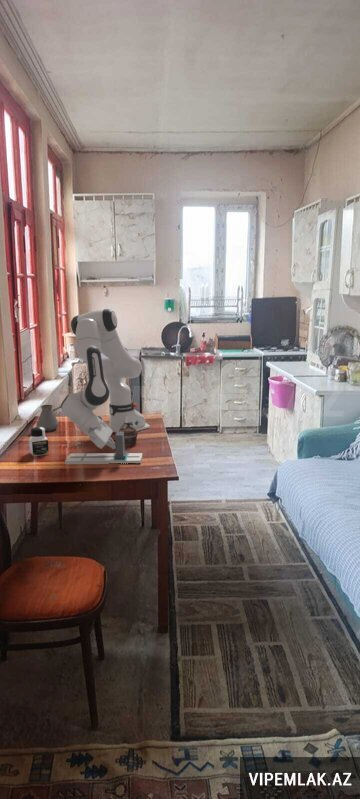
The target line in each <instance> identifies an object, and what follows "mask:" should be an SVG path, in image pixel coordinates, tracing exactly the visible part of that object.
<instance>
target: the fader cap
mask: <svg viewBox="0 0 360 799" xmlns="http://www.w3.org/2000/svg"><path fill="white" fill-rule="evenodd" d="M114 437H115V438H114V439H115V443H116V448H115V452H114V453H115V454H114V458H126V455H127V453H128V451H127V450H126V447H125V441H124V432H115V435H114Z"/></svg>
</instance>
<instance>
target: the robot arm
mask: <svg viewBox="0 0 360 799" xmlns="http://www.w3.org/2000/svg"><path fill="white" fill-rule="evenodd" d="M117 326H118V318H117V314H116V312H115V311H114V310H113V309H111V308H110V309H108V308H105V309H99V310H92V311H89V312H85V313H83V314H78V315H77V314H76V315H75V316H73V317H72V319H71V321H70V328H71V331H72V334H74V336H75V350H76V354H77V357H78V358H79V359H80V360H81V361H83V362H85V363H86V366H87V368H86V369H87V375H88V382H87V385H86V387H85V388H84V389H83V390H80V391H78V392H74V393H68V394H67V395H66V396H65V397H64V399H63V400H62V402H61V403H60V405H59V407H61V408H60V410H61V412H62V413H63V414H64V415H65V417H67V418H68V419H69V421H71V422H73V424H75V425H77V427H78V428H79V430H80V431H82V432H83V433H84V434H85V435H86V436H88V438H89V439H90V441H91V442H92V443H94V445H95V446H96V447H97V448H99V449H100V450H101V449H103V448H104V447H105V446H107V447H109V448H110V449H112V450H116V441H114V440H113V438H112V437H111V436H112V435H113V433H117V432H119V429H120V428H121V427H122V424H123V423H130V422H133V424H134V427H135V428H136V430H137V432H139V431H142V430H145V429H149V428H151V427H150V424H149V423H147V422H146V419H145V416H144V415H143V414H142V413H140V412H139V411H138V410H136V409H137V408H138V407H139V404H137V403H133V402H132V392H131V390H132V389H131V388H130V386H129V385H127V384H126V382H125V381H124V379H135V378H138V377H140V375H141V374H142V370H143V365H142V362H141V361H140V359H138V358H137V357H135V356H134V355H133V354H131V353H130V352H129V351H128V349H126V347H125V346H124V345H123V343H122V341H121V339H120V336H119V333H118V331H117V329H116V328H117ZM102 355H103V356H102ZM108 400H109V404H108V406H109V407H108V409H109V423H108V424H107V423H106V421H105V420H103V417H102V416H101V415H96V414H95V413H94V412H93V411H94V410H96V409H98V408H99V407H100V406H101V405H103V404H104V403H106V402H107V401H108ZM135 408H136V409H135Z"/></svg>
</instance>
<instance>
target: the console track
mask: <svg viewBox="0 0 360 799" xmlns="http://www.w3.org/2000/svg"><path fill="white" fill-rule="evenodd" d="M114 454H115V452H113V453H105V452H102V453H99V452H98V453H97V452H96V453H93V452H92V453H91V452H90V453H87V452H86V453H83V452H82V453H70V454H69V455H68V456H67V457H66V459H65V461H64V464H65V465H110V464H109V463H121V464H120V465H129V464H128V463H142V461H141V460H143V457H144V456H143V455H144V454H143V452H137V453H136V452H133V453H131V452H130V453H129V452H127V455H126V458H114ZM122 463H123V464H122ZM124 463H125V464H124ZM126 463H127V464H126Z"/></svg>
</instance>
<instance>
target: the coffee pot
mask: <svg viewBox="0 0 360 799" xmlns="http://www.w3.org/2000/svg"><path fill="white" fill-rule="evenodd" d="M53 407H54V404H43V405H40V408H41V412H40V415H39V418H38V420H37V423H36V427H43V428H44V429H45V432H51V431H55V430H56V429H57V428H58V427H59V425H60V422H59V420H58V419H57V416H56V415H55V413H54V412H55V411H57V410H59V409H61V407H60V406H57V407H56V408H54V409H53Z"/></svg>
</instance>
